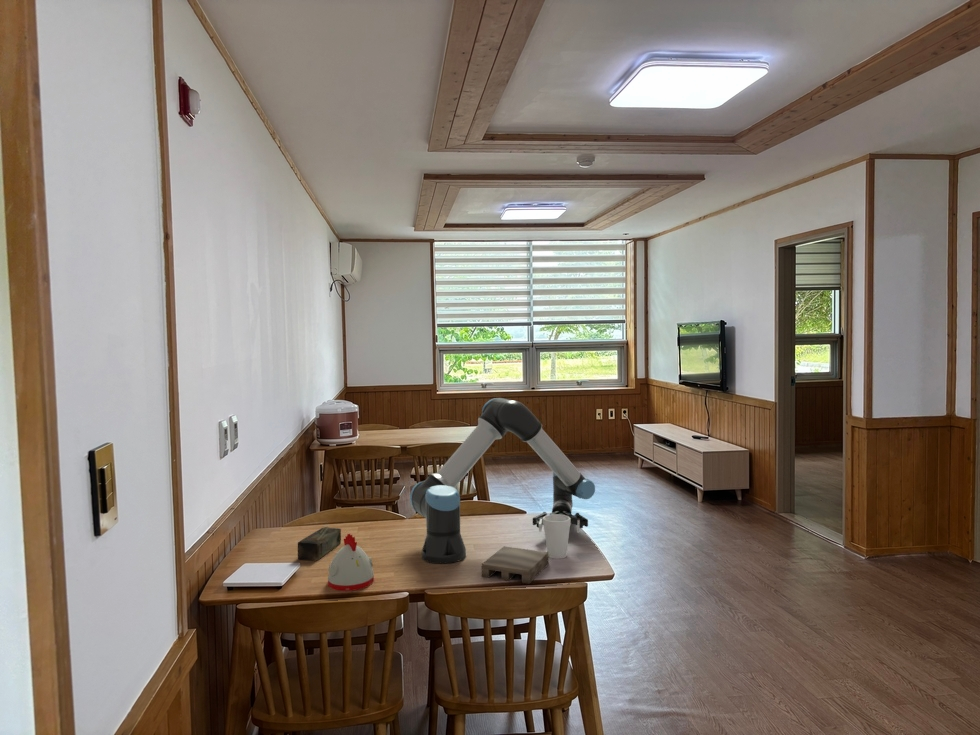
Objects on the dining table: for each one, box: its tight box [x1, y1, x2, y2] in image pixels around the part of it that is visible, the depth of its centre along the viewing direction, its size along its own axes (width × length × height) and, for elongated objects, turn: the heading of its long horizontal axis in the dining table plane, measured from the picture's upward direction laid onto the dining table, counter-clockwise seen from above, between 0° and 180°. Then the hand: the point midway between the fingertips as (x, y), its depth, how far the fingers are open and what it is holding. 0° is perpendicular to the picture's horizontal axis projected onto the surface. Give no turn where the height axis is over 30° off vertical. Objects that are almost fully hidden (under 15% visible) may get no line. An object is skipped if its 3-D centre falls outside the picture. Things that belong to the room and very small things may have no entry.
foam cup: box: [542, 514, 572, 560], centre depth 216 cm, size 10×9×13 cm
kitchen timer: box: [327, 533, 375, 592], centre depth 195 cm, size 14×14×15 cm
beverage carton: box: [297, 526, 342, 562], centre depth 225 cm, size 8×19×7 cm, turn 168°
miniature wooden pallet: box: [481, 546, 550, 585], centre depth 203 cm, size 18×16×4 cm
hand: (559, 528), depth 223 cm, fingers open, 13 cm apart
